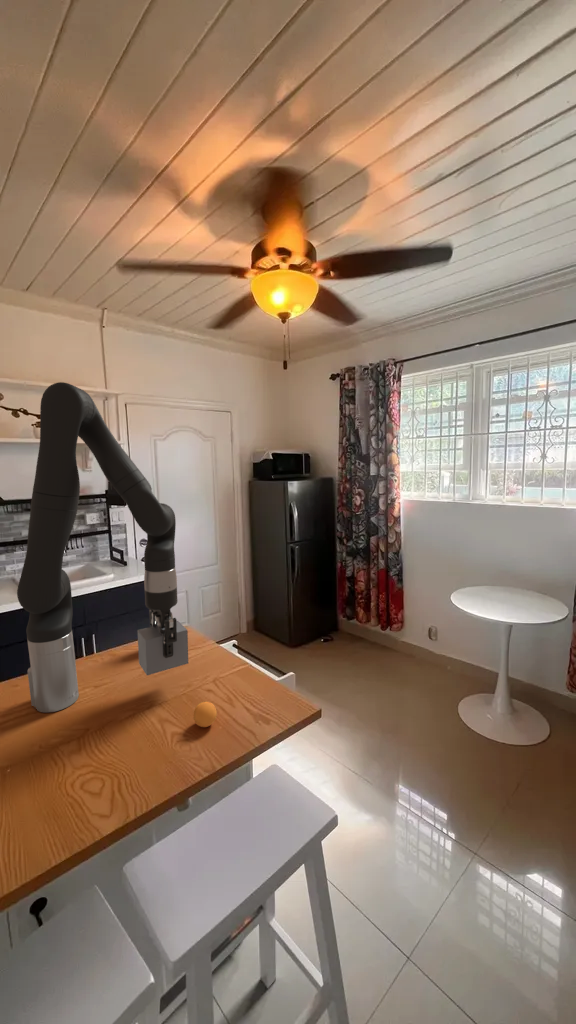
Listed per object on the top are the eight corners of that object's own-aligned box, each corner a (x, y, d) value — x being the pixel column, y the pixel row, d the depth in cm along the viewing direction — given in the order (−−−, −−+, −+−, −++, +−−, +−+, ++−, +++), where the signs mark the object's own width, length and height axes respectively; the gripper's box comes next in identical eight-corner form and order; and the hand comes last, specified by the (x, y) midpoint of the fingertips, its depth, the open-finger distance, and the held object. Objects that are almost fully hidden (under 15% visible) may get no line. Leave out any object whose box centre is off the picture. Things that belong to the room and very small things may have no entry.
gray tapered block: (146, 675, 97) (145, 640, 96) (139, 663, 103) (137, 629, 102) (188, 663, 103) (187, 629, 102) (178, 652, 109) (177, 620, 107)
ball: (190, 731, 89) (188, 709, 88) (199, 716, 94) (197, 696, 93) (212, 733, 88) (211, 711, 87) (220, 718, 93) (219, 697, 92)
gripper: (186, 591, 97) (188, 658, 99) (166, 576, 108) (168, 636, 111) (154, 597, 92) (157, 667, 95) (136, 581, 104) (140, 643, 106)
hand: (163, 650), depth 103 cm, fingers closed on gray tapered block, 7 cm apart
